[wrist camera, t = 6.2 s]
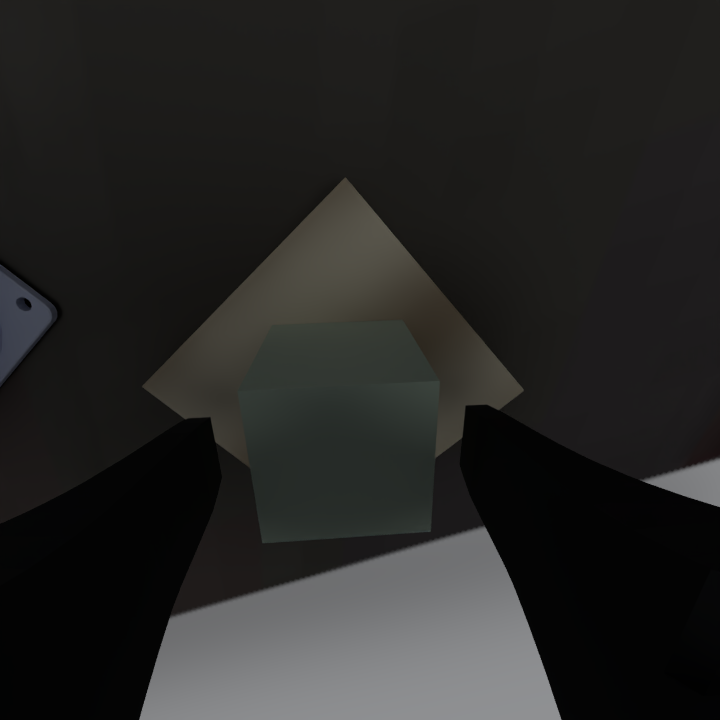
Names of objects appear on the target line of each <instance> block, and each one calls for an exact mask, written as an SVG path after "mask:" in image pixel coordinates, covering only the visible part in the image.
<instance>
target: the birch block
mask: <svg viewBox="0 0 720 720" xmlns="http://www.w3.org/2000/svg"><path fill="white" fill-rule="evenodd" d="M382 320H403V321H404V323H405V324H406V326H407V328H408V329H409V331H410V333H411V334H412V336H413V337H414V339H415V341H416V342H417V344H418V346H419V347H420V349H421V351H422V352H423V354H424V356H425V357H426V359H427V361H428V362H429V364H430V366H431V367H432V369H433V371H434V372H435V374H436V376H437V377H438V379H439V380H440V386H439V403H438V419H437V435H436V452H435V458H436V457H437V456H439V455H440V454H441V453H443V452H444V451H445V450H447V449H448V448H449V447H451V446H452V445H453V444H454V443H456V442H457V441H458V440H460V439H461V438H462V436H463V426H464V416H465V406H466V405H485V404H487V405H489V406H491V407H493V408H495V409H497V410H499V409H501V408H502V407H503V406H505V405H506V404H507V403H508V402H510V401H511V400H512V399H514V398H515V397H516V396H518V395H519V394H520V393H522V392H523V391H524V389H523V388H522V387H521V386H520V385H519V384H518V382H517V381H516V380H515V379H514V378H513V376H512V375H511V374H510V373H509V372H508V370H507V369H506V368H505V367H504V366H503V364H502V363H501V362H500V361H499V360H498V358H497V357H496V356H495V355H494V354H493V353H492V351H491V350H490V349H489V348H488V347H487V345H486V344H485V343H484V342H483V341H482V339H481V338H480V337H479V336H478V335H477V333H476V332H475V331H474V330H473V329H472V328H471V326H470V325H469V324H468V323H467V322H466V320H465V319H464V318H463V317H462V316H461V314H460V313H459V312H458V311H457V310H456V308H455V307H454V306H453V305H452V304H451V302H450V301H449V300H448V299H447V298H446V297H445V295H444V294H443V293H442V292H441V291H440V289H439V288H438V287H437V286H436V285H435V283H434V282H433V281H432V280H431V279H430V277H429V276H428V275H427V274H426V273H425V271H424V270H423V269H422V268H421V267H420V266H419V264H418V263H417V262H416V261H415V260H414V258H413V257H412V256H411V255H410V254H409V252H408V251H407V250H406V249H405V248H404V246H403V245H402V244H401V243H400V242H399V241H398V239H397V238H396V237H395V236H394V235H393V233H392V232H391V231H390V230H389V229H388V227H387V226H386V225H385V224H384V223H383V221H382V220H381V219H380V218H379V217H378V215H377V214H376V213H375V212H374V211H373V210H372V208H371V207H370V206H369V205H368V204H367V202H366V201H365V200H364V199H363V198H362V196H361V195H360V194H359V193H358V192H357V190H356V189H355V188H354V187H353V186H352V184H351V183H350V182H349V181H348V180H347V179H346V177H345V178H344V179H343V180H342V181H341V182H340V183H339V184H338V185H337V186H336V187H335V189H334V190H333V191H332V192H331V193H330V194H329V195H328V196H327V197H326V198H325V199H324V200H323V201H322V202H321V203H320V204H319V205H318V206H317V207H316V208H315V209H314V210H313V211H312V212H311V213H310V214H309V215H308V216H307V217H306V218H305V219H304V220H303V221H302V222H301V223H300V224H299V226H298V227H297V228H296V229H295V230H294V231H293V232H292V233H291V234H290V235H289V236H288V237H287V238H286V239H285V240H284V241H283V242H282V243H281V244H280V245H279V246H278V247H277V248H276V249H275V250H274V251H273V252H272V253H271V254H270V255H269V256H268V257H267V258H266V259H265V260H264V261H263V263H262V264H261V265H260V266H259V267H258V268H257V269H256V270H255V271H254V272H253V273H252V274H251V275H250V276H249V277H248V278H247V279H246V280H245V281H244V282H243V283H242V284H241V285H240V286H239V287H238V288H237V289H236V290H235V291H234V292H233V293H232V294H231V295H230V296H229V297H228V298H227V299H226V301H225V302H224V303H223V304H222V305H221V306H220V307H219V308H218V309H217V310H216V311H215V312H214V313H213V314H212V315H211V316H210V317H209V318H208V319H207V320H206V321H205V322H204V323H203V324H202V325H201V326H200V327H199V328H198V329H197V330H196V331H195V332H194V333H193V334H192V335H191V336H190V338H189V339H188V340H187V341H186V342H185V343H184V344H183V345H182V346H181V347H180V348H179V349H178V350H177V351H176V352H175V353H174V354H173V355H172V356H171V357H170V358H169V359H168V360H167V361H166V362H165V363H164V364H163V365H162V366H161V367H160V368H159V369H158V370H157V371H156V372H155V373H154V374H153V376H152V377H151V378H150V379H149V380H148V381H147V382H146V383H145V384H144V385H143V386H142V387H143V388H144V389H146V390H147V391H148V392H150V393H151V394H152V395H154V396H155V397H156V398H158V399H159V400H160V401H162V402H163V403H164V404H166V405H167V406H168V407H170V408H171V409H172V410H174V411H175V412H176V413H178V414H179V415H180V416H182V417H183V418H184V419H187V418H202V417H211V423H212V428H213V433H214V438H215V442H216V443H217V444H219V445H220V446H221V447H223V448H224V449H225V450H227V451H228V452H229V453H231V454H232V455H233V456H235V457H236V458H237V459H239V460H240V461H241V462H243V463H244V464H245V465H247V466H248V467H249V468H250V465H249V459H248V452H247V446H246V440H245V434H244V428H243V422H242V416H241V410H240V404H239V398H238V392H237V391H238V389H239V387H240V385H241V383H242V381H243V380H244V378H245V376H246V374H247V372H248V370H249V368H250V366H251V364H252V362H253V361H254V359H255V357H256V355H257V353H258V351H259V349H260V347H261V345H262V343H263V341H264V340H265V338H266V336H267V334H268V332H269V330H270V328H271V326H272V325H285V324H309V323H333V322H358V321H382Z"/></svg>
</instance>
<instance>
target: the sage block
mask: <svg viewBox="0 0 720 720" xmlns="http://www.w3.org/2000/svg"><path fill="white" fill-rule="evenodd" d="M439 386H440V380H439V379H438V377H437V376H436V374H435V372H434V371H433V369H432V367H431V366H430V364H429V362H428V361H427V359H426V357H425V356H424V354H423V352H422V351H421V349H420V347H419V346H418V344H417V342H416V341H415V339H414V337H413V336H412V334H411V333H410V331H409V329H408V328H407V326H406V324H405V323H404V321H403V320H382V321H358V322H333V323H309V324H285V325H272V326H271V328H270V330H269V332H268V334H267V336H266V338H265V340H264V341H263V343H262V345H261V347H260V349H259V351H258V353H257V355H256V357H255V359H254V361H253V362H252V364H251V366H250V368H249V370H248V372H247V374H246V376H245V378H244V380H243V381H242V383H241V385H240V387H239V389H238V391H237V392H238V398H239V404H240V410H241V416H242V422H243V428H244V434H245V440H246V446H247V452H248V459H249V465H250V471H251V477H252V483H253V489H254V495H255V501H256V507H257V513H258V519H259V525H260V531H261V537H262V543H273V542H288V541H302V540H317V539H331V538H345V537H360V536H374V535H389V534H403V533H417V532H431V517H432V501H433V484H434V468H435V452H436V435H437V419H438V403H439Z"/></svg>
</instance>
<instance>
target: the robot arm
mask: <svg viewBox="0 0 720 720" xmlns="http://www.w3.org/2000/svg"><path fill="white" fill-rule="evenodd" d="M24 298H26V299H28V300H29V301H30V302H31V305H32V307H31V308H30V307H28V306H27V305H26V304H25V301H24ZM56 319H57V310H56V308H55V306H54V305H53V304H52V303H51V302H49V301H48V300H47V299H45V298H44V297H43V296H41V295H40V294H39V293H38V292H36V291H35V290H34V289H32V288H31V287H30V286H28V285H27V284H26V283H24V282H23V281H22V280H20V279H19V278H18V277H16V276H15V275H14V274H12V273H11V272H10V271H9V270H7V269H6V268H5V267H3V266H2V265H1V264H0V387H1V386H2V384H3V383H4V382H5V381H6V380H7V378H8V377H9V376H10V375H11V374H12V372H13V371H14V370H15V369H16V367H17V366H18V365H19V364H20V363H21V361H22V360H23V359H24V358H25V357H26V355H27V354H28V353H29V352H30V351H31V349H32V348H33V347H34V346H35V345H36V343H37V342H38V341H39V340H40V339H41V337H42V336H43V335H44V334H45V333H46V331H47V330H48V329H49V328H50V327H51V325H52V324H53V323H54V322H55V321H56ZM460 467H461V470H462V473H463V476H464V479H465V482H466V485H467V488H468V491H469V494H470V496H471V498H472V501H473V503H474V505H475V507H476V509H477V511H478V513H479V515H480V517H481V519H482V521H483V523H484V525H485V527H486V529H487V531H488V533H489V535H490V537H491V539H492V541H493V543H494V545H495V547H496V549H497V551H498V553H499V555H500V557H501V559H502V561H503V563H504V565H505V567H506V569H507V572H508V574H509V576H510V578H511V581H512V583H513V585H514V588H515V590H516V593H517V595H518V598H519V600H520V603H521V606H522V608H523V611H524V614H525V616H526V619H527V622H528V624H529V627H530V630H531V632H532V635H533V638H534V641H535V644H536V646H537V649H538V652H539V655H540V658H541V660H542V663H543V666H544V669H545V672H546V674H547V677H548V680H549V684H550V686H551V690H552V693H553V696H554V699H555V701H556V704H557V707H558V710H559V713H560V716H561V719H562V720H720V507H717V506H714V505H711V504H708V503H704V502H701V501H698V500H695V499H691V498H688V497H685V496H682V495H679V494H676V493H673V492H671V491H668V490H665V489H662V488H659V487H656V486H654V485H651V484H648V483H645V482H643V481H640V480H638V479H635V478H632V477H630V476H627V475H625V474H623V473H620V472H618V471H616V470H613V469H611V468H608V467H606V466H604V465H601V464H599V463H597V462H595V461H592V460H590V459H588V458H586V457H584V456H582V455H580V454H578V453H576V452H574V451H572V450H570V449H568V448H566V447H564V446H562V445H560V444H558V443H556V442H554V441H552V440H551V439H549V438H547V437H545V436H543V435H541V434H540V433H538V432H536V431H534V430H533V429H531V428H529V427H527V426H526V425H524V424H522V423H520V422H519V421H517V420H515V419H513V418H512V417H510V416H508V415H506V414H504V413H503V412H501V411H499V410H497V409H495V408H493V407H491V406H489V405H487V404H485V405H466V406H465V416H464V426H463V436H462V446H461V456H460ZM221 479H222V475H221V470H220V465H219V459H218V454H217V449H216V444H215V438H214V433H213V428H212V423H211V417H202V418H187V419H186V420H184V421H182V422H180V423H178V424H177V425H175V426H173V427H172V428H170V429H169V430H167V431H165V432H164V433H162V434H161V435H159V436H158V437H156V438H155V439H153V440H152V441H150V442H149V443H147V444H146V445H144V446H142V447H141V448H139V449H138V450H136V451H135V452H133V453H132V454H130V455H129V456H127V457H125V458H124V459H122V460H120V461H119V462H117V463H116V464H114V465H112V466H111V467H109V468H107V469H106V470H104V471H102V472H101V473H99V474H97V475H96V476H94V477H92V478H91V479H89V480H87V481H86V482H84V483H82V484H80V485H78V486H77V487H75V488H73V489H71V490H69V491H67V492H66V493H64V494H62V495H60V496H58V497H56V498H54V499H52V500H50V501H48V502H46V503H44V504H42V505H40V506H38V507H36V508H34V509H32V510H30V511H28V512H26V513H24V514H21V515H19V516H17V517H15V518H13V519H10V520H8V521H6V522H4V523H1V524H0V720H139V718H140V714H141V711H142V707H143V704H144V700H145V697H146V693H147V690H148V686H149V683H150V679H151V676H152V673H153V669H154V666H155V662H156V659H157V655H158V652H159V649H160V646H161V643H162V640H163V636H164V633H165V630H166V627H167V624H168V621H169V618H170V614H171V611H172V608H173V606H174V603H175V600H176V598H177V595H178V593H179V590H180V587H181V585H182V583H183V580H184V578H185V576H186V573H187V571H188V569H189V566H190V564H191V562H192V559H193V557H194V555H195V552H196V550H197V548H198V545H199V543H200V541H201V538H202V536H203V533H204V531H205V529H206V526H207V524H208V521H209V519H210V517H211V514H212V512H213V509H214V505H215V502H216V498H217V495H218V491H219V487H220V483H221Z"/></svg>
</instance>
